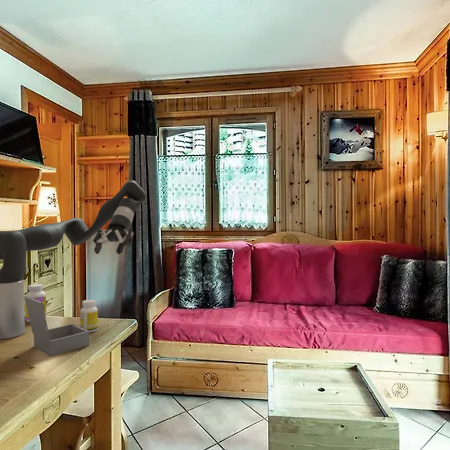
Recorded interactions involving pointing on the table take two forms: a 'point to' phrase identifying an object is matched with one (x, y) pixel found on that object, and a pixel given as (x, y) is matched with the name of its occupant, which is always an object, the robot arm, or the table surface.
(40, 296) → the supplement bottle
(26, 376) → the table surface
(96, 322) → the supplement bottle
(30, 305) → the mailer box
